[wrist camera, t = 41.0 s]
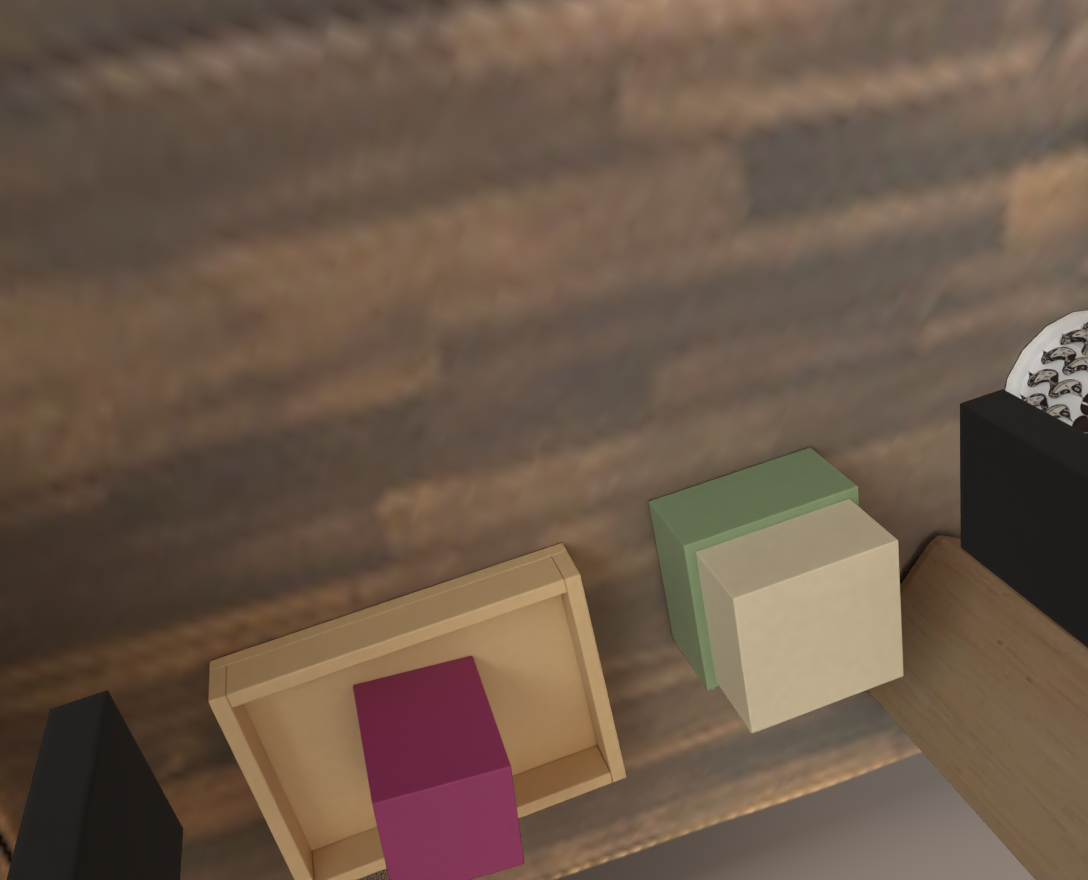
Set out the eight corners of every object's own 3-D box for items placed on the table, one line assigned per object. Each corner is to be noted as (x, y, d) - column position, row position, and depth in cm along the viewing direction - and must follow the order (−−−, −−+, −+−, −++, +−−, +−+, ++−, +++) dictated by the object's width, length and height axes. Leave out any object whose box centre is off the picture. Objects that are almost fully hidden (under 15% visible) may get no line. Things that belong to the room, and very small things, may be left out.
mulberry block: (372, 775, 51) (394, 903, 44) (352, 684, 48) (371, 804, 41) (486, 745, 52) (524, 864, 45) (472, 654, 49) (511, 766, 42)
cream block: (715, 681, 49) (751, 734, 46) (694, 551, 46) (732, 599, 42) (858, 628, 51) (904, 676, 47) (849, 498, 47) (898, 540, 43)
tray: (300, 854, 53) (303, 900, 50) (209, 660, 46) (207, 701, 44) (608, 740, 55) (627, 778, 53) (562, 541, 49) (580, 573, 46)
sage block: (672, 639, 54) (707, 691, 50) (647, 500, 49) (683, 546, 45) (822, 585, 55) (867, 632, 51) (810, 446, 51) (858, 486, 47)
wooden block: (1045, 573, 59) (1381, 820, 42) (951, 703, 62) (1231, 987, 45) (932, 523, 55) (1254, 774, 38) (836, 665, 58) (1096, 961, 40)
